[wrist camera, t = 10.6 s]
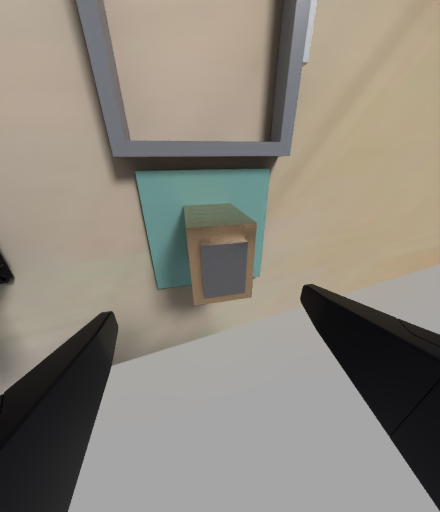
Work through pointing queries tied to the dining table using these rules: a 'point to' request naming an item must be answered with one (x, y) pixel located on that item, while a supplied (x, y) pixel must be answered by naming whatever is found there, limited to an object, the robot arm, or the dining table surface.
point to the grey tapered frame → (285, 101)
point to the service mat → (195, 193)
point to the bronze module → (220, 252)
